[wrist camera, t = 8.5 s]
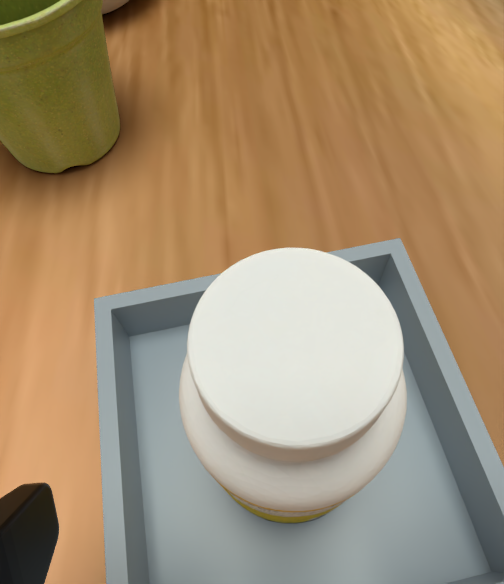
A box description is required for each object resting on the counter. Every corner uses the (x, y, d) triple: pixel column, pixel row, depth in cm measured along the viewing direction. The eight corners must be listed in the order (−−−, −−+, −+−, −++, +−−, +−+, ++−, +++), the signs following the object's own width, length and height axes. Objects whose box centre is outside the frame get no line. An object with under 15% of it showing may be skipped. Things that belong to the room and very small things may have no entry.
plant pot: (47, 67, 29) (-31, -101, 22) (179, 101, 27) (143, -72, 20) (-52, 170, 25) (-191, 7, 18) (94, 219, 23) (7, 59, 16)
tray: (511, 588, 15) (561, 595, 12) (141, 681, 14) (111, 710, 12) (384, 277, 21) (400, 238, 18) (117, 331, 20) (94, 298, 17)
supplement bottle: (225, 364, 19) (184, 204, 10) (362, 382, 18) (443, 228, 9) (198, 512, 16) (112, 467, 7) (358, 538, 15) (463, 521, 7)
